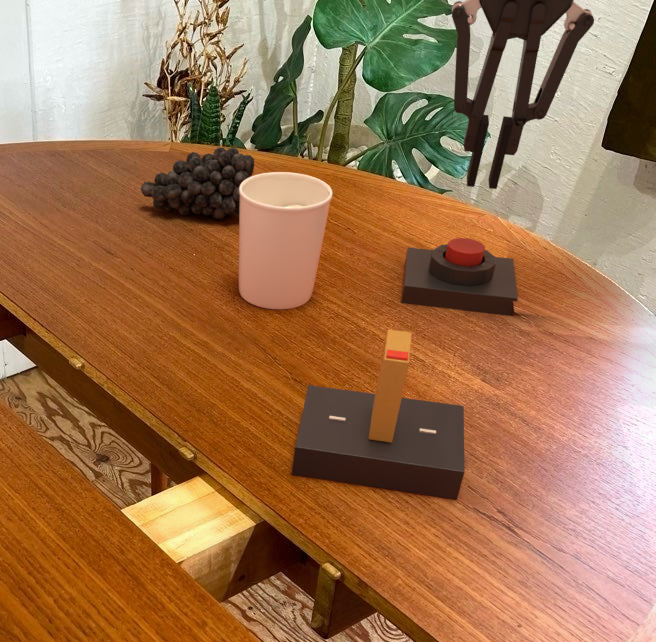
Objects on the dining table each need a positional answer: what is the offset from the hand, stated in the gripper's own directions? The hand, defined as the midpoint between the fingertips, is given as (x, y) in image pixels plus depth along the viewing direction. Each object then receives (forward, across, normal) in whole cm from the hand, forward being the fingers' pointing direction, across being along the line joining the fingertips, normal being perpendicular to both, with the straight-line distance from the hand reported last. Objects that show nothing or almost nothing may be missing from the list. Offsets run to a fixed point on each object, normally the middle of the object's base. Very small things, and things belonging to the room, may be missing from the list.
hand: (481, 182), depth 102 cm
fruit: (+13, -33, +14) cm, 38 cm away
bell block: (+12, 0, 0) cm, 12 cm away
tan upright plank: (+9, -7, -34) cm, 36 cm away
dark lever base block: (+12, -7, -34) cm, 37 cm away
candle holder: (+13, -20, -6) cm, 24 cm away
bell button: (+9, 0, 0) cm, 9 cm away
